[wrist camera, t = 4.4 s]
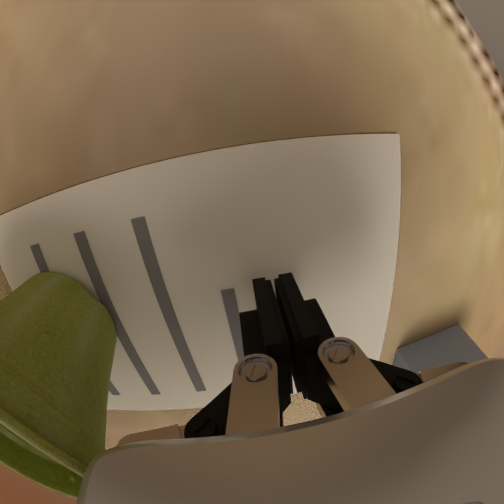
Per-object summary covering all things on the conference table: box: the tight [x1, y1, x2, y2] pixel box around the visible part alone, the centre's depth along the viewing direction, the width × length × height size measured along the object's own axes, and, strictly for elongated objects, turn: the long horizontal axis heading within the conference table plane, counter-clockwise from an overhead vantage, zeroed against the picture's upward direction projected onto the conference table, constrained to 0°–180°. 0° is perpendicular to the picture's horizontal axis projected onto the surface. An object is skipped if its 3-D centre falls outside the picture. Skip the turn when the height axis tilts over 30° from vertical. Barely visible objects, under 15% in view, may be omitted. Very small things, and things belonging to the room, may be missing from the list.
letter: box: [0, 134, 401, 410], centre depth 13 cm, size 15×21×1 cm
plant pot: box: [0, 272, 117, 499], centre depth 9 cm, size 9×9×9 cm
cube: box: [393, 324, 488, 374], centre depth 15 cm, size 6×6×6 cm
